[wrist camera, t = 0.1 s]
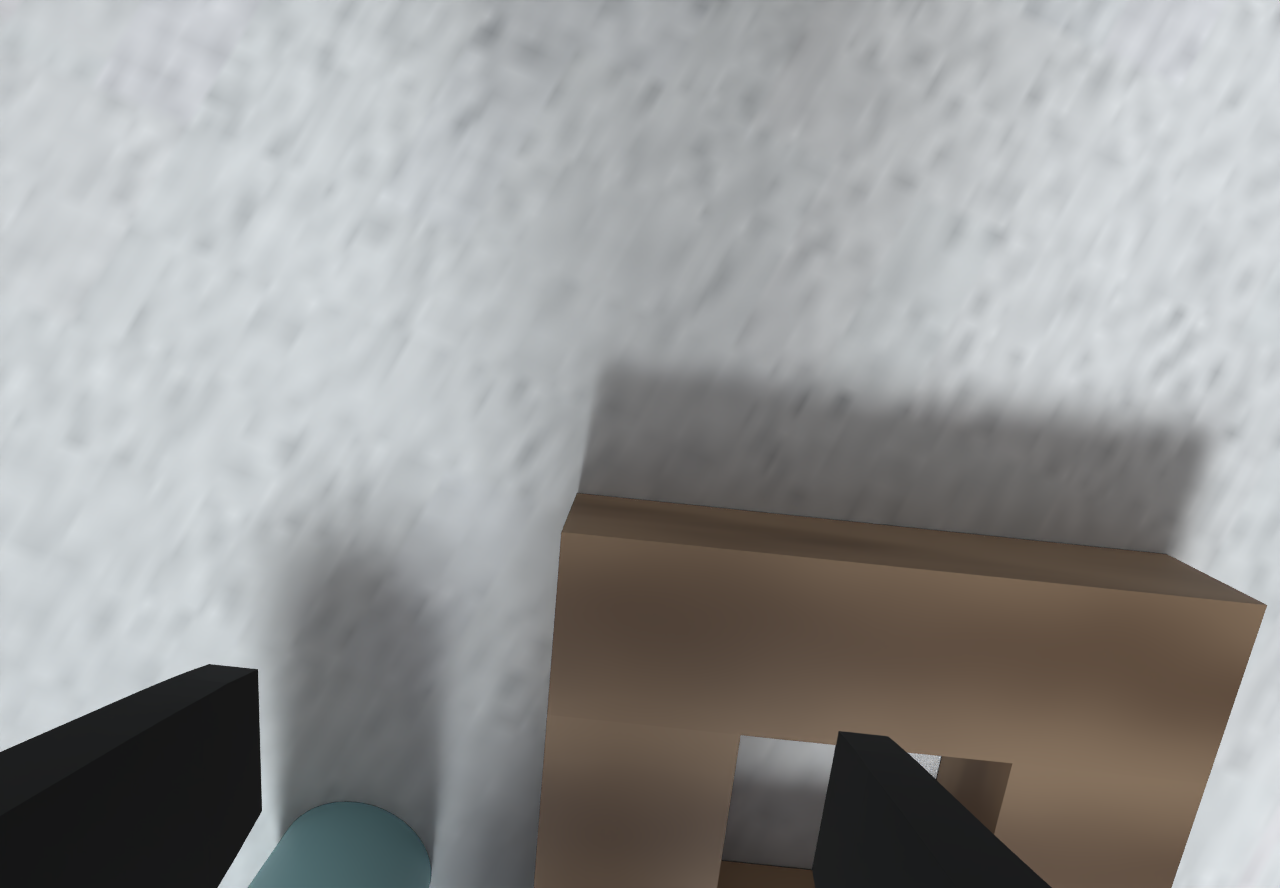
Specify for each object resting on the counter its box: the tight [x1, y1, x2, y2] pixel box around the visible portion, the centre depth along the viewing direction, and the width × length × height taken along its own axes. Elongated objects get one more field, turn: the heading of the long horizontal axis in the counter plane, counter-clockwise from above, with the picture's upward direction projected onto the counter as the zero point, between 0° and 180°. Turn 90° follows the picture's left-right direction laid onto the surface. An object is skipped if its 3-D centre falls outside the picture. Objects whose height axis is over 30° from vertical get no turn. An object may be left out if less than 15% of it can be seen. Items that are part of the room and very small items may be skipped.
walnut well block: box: [534, 493, 1267, 888], centre depth 18 cm, size 16×16×3 cm
